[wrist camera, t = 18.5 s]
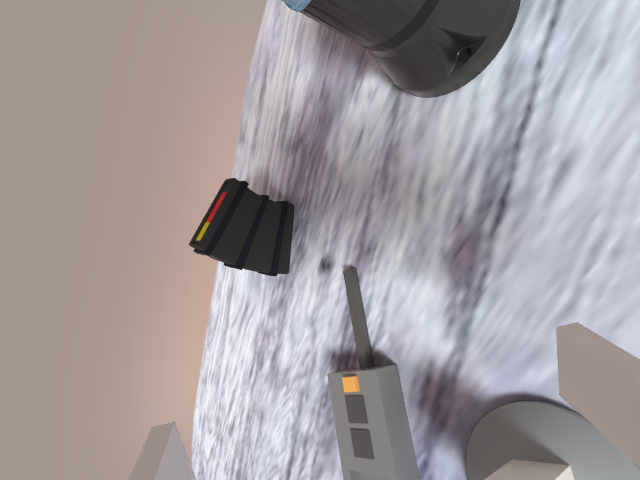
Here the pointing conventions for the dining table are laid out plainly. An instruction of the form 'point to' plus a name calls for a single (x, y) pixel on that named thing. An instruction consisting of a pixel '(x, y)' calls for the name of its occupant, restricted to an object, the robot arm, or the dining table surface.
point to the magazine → (246, 230)
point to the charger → (532, 471)
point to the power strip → (370, 409)
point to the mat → (545, 443)
